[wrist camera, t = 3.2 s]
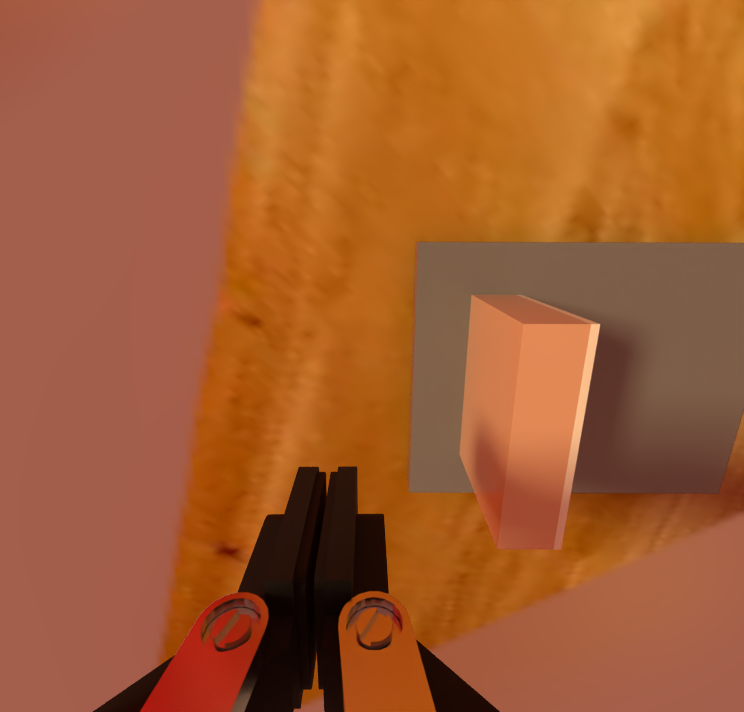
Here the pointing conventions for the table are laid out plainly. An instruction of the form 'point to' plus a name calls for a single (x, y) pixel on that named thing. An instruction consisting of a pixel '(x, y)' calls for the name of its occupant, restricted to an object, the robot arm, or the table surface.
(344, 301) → the table surface
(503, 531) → the tile
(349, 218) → the table surface
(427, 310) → the board
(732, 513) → the table surface
